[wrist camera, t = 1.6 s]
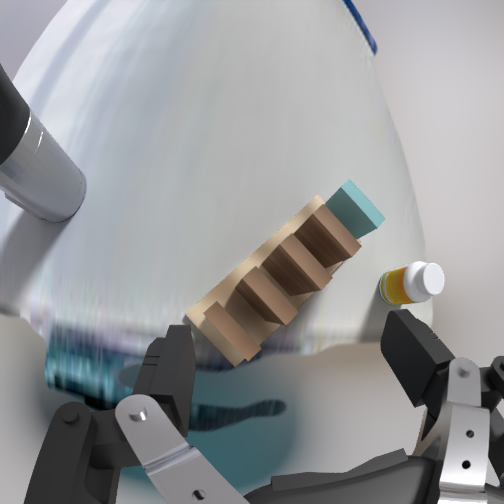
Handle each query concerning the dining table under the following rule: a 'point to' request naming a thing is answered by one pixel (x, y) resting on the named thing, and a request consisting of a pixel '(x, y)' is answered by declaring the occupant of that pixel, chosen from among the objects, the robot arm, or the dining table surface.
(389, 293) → the supplement bottle
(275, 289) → the domino
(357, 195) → the domino
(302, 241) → the domino
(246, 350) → the domino
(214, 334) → the domino board
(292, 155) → the dining table surface
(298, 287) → the domino
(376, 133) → the dining table surface
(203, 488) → the robot arm
